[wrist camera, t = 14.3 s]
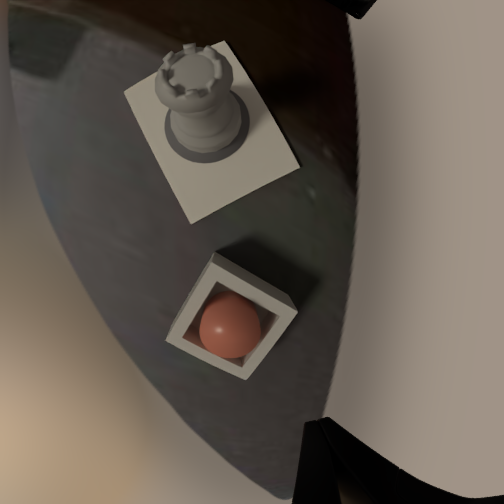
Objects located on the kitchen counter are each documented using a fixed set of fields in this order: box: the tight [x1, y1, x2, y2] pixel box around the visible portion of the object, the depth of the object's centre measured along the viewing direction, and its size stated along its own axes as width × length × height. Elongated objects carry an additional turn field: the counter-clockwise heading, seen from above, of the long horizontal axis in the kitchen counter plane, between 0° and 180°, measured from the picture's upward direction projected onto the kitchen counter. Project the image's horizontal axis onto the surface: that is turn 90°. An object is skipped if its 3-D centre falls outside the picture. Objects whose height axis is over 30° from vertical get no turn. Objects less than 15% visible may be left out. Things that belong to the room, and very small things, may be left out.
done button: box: [199, 291, 261, 358], centre depth 17 cm, size 4×4×2 cm
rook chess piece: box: [155, 43, 242, 153], centre depth 12 cm, size 4×4×8 cm
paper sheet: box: [124, 41, 300, 224], centre depth 16 cm, size 11×8×1 cm
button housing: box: [165, 252, 298, 380], centre depth 18 cm, size 6×6×3 cm
